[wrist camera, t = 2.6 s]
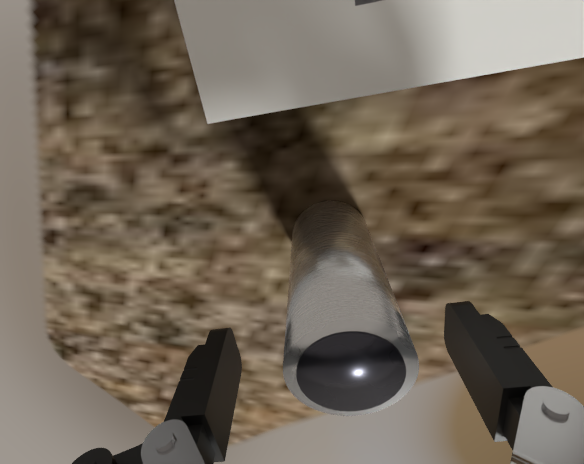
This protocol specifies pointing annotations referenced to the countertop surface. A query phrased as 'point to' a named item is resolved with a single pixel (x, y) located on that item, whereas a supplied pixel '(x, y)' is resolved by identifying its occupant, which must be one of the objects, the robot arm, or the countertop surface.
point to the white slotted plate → (362, 46)
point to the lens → (343, 318)
